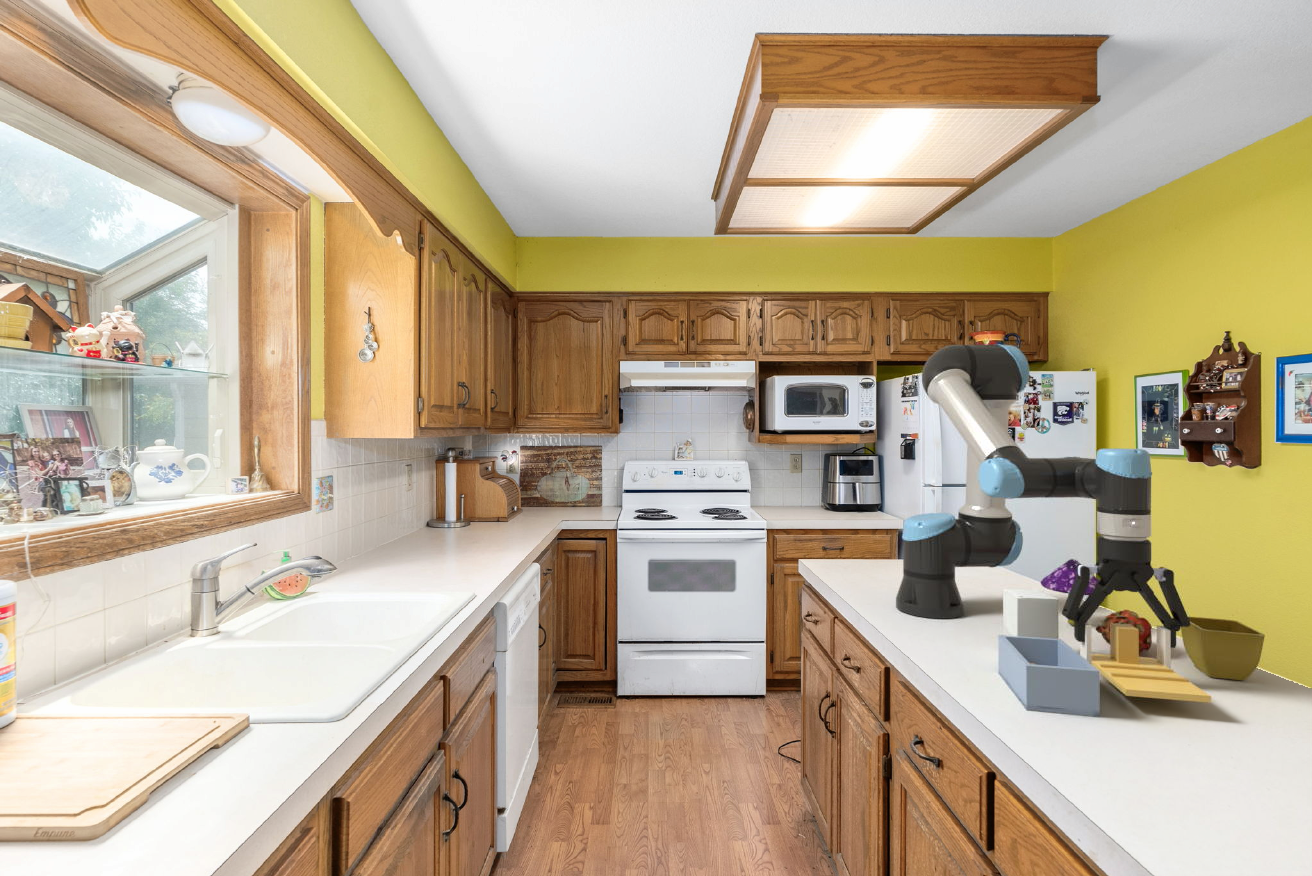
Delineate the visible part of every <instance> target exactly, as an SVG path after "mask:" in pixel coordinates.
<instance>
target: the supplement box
mask: <svg viewBox="0 0 1312 876" xmlns="http://www.w3.org/2000/svg"><path fill="white" fill-rule="evenodd" d="M1002 590H1003V591H1002V601H1003V602H1002V608H1003V609H1002V614H1003V617H1002V618H1003V620H1002V621H1003V623H1002V624H1003V625H1002V626H1003V631H1002V632H1003V634H1002V635H1007V636H1022V637H1037V638H1052V639H1060V638H1059V598H1057V597H1055V596H1053V595H1051V594H1049V593H1048V592H1046V591H1045V590H1043V589H1026V588H1025V589H1023V588H1022V589H1021V588H1003V589H1002Z"/></svg>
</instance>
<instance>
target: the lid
mask: <svg viewBox="0 0 1312 876" xmlns="http://www.w3.org/2000/svg"><path fill="white" fill-rule="evenodd" d="M1109 647H1110V650H1109V651H1110V652H1109V653H1110V654H1100V653H1092V661H1091V663H1090V664H1091V665H1093V666H1094V667H1095V668H1096V669H1097V670H1099V671H1100V676H1102V677H1103V678H1105V679H1106V680H1107V681H1108V683H1110V684H1112V685H1113V686H1114V687H1115V688H1117V690H1119V691H1120V692H1121V693H1122V694H1124V695H1125V696H1126V697H1138V698H1139V697H1140V698H1151V699H1161V700H1162V699H1163V700H1173V701H1185V702H1187V701H1188V702H1199V703H1212V696H1211V695H1210V694H1209V693H1207V692H1205V691H1204V690H1203V689H1201V688H1200V687H1198V686H1197V685H1196V684H1193V683H1192V682H1190V681H1189V679H1188V678H1186V677H1183V676H1181V675H1180V674H1178V673H1177V672H1175V671H1174V669H1172V668H1171V669H1169V668H1168V667H1166V666H1165V665H1163V664H1162V663H1160V662H1159V661H1157V658H1156V659H1155V658H1154V657H1144V656H1140V655H1139V654H1140V653H1139V651H1140V650H1139V630H1138V629H1137V628H1135V627H1134V626H1132V625H1130V624H1117V623H1110V645H1109Z"/></svg>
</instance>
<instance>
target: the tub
mask: <svg viewBox="0 0 1312 876" xmlns="http://www.w3.org/2000/svg"><path fill="white" fill-rule="evenodd" d="M997 647H998V675H999V676H1000V678H1002V680H1003V681H1004V682H1005V684H1006V685H1007V687H1008V688H1009V689H1010V690H1011V692H1012V693H1013V694H1014V696H1015V698H1017V700H1018V701H1019V702H1020V704H1021V705H1022V706H1023V708H1025V710H1026V711H1033V712H1044V713H1054V714H1055V713H1056V714H1064V715H1065V714H1066V715H1075V716H1085V717H1098V718H1100V717H1101V715H1100V713H1101V711H1100V708H1101V706H1100V705H1101V703H1100V700H1101V699H1100V697H1101V696H1100V694H1101V693H1100V691H1101V690H1100V688H1101V687H1100V684H1101V683H1100V676H1101V674H1100V671H1099V670H1097V669H1096V668H1095V667H1094V666H1093V665H1091V664H1090V663H1089V662H1088V661H1087V660H1085V659H1084V658H1083V657H1082V656H1081V655H1080V653H1078V652H1077V651H1076V650H1075V649H1074V648H1072V647H1071V646H1070V645H1069V644H1068V643H1066V642H1065V640H1063V639H1061V638H1059V639H1052V638H1037V637H1022V636H1007V635H1004V634H998V646H997Z"/></svg>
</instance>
